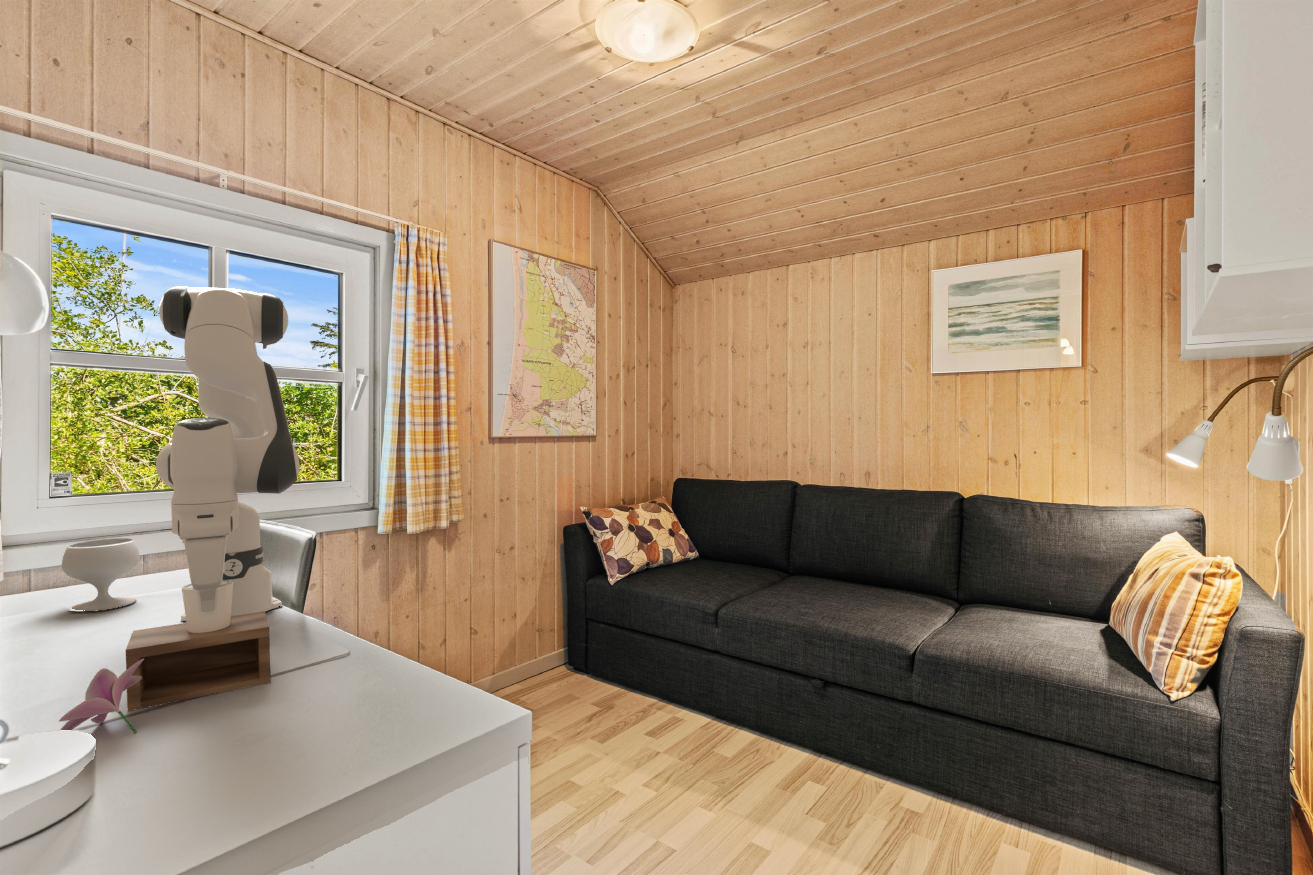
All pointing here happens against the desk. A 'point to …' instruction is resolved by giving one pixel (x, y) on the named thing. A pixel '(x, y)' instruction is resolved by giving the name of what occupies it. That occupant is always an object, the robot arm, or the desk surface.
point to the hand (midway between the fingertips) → (208, 605)
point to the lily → (102, 698)
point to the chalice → (101, 568)
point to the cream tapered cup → (211, 619)
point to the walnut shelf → (198, 660)
